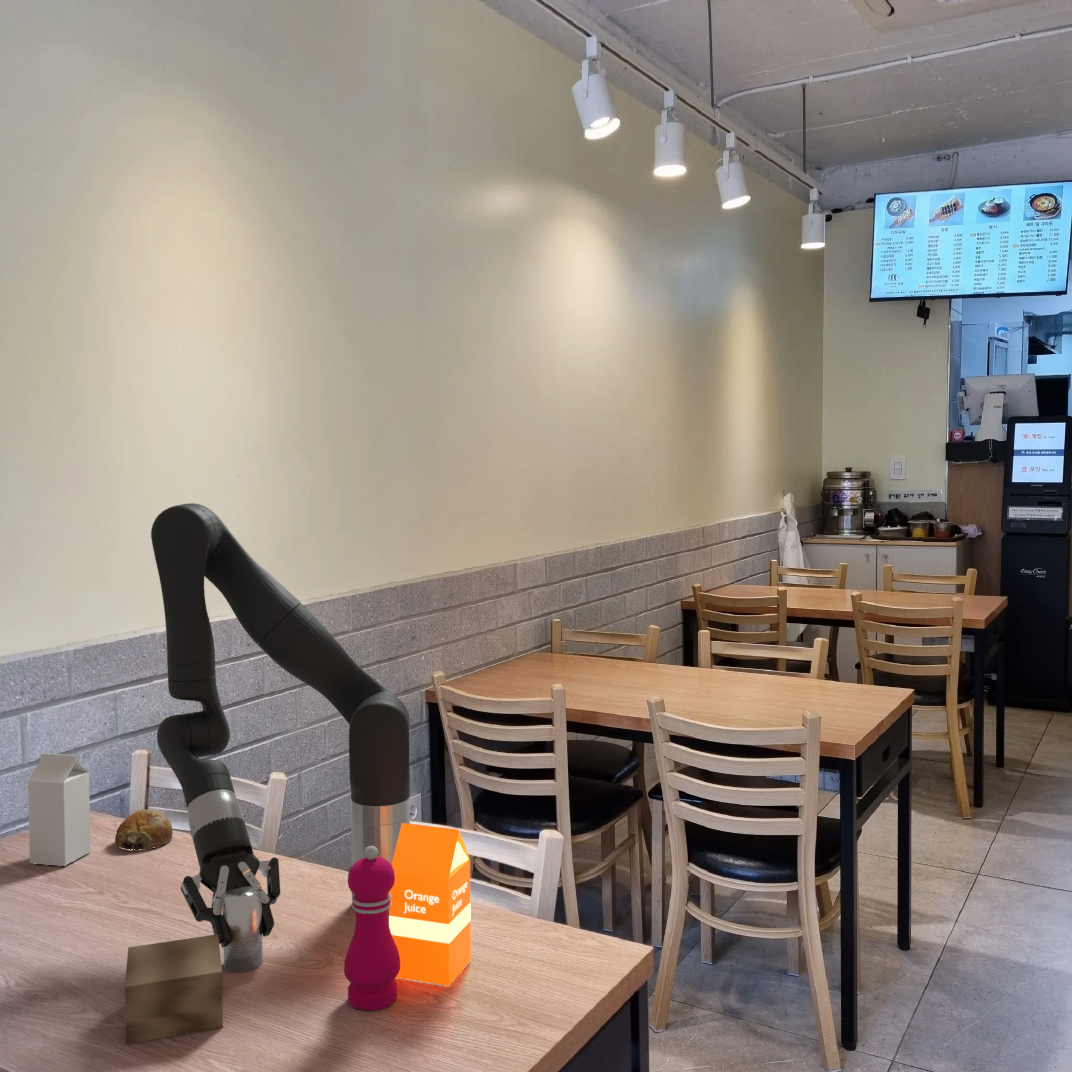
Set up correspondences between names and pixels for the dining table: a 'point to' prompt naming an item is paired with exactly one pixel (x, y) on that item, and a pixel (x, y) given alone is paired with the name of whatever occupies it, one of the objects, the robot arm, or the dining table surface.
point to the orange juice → (431, 903)
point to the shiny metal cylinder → (243, 928)
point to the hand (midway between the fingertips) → (247, 938)
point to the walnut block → (173, 988)
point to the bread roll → (144, 830)
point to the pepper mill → (371, 935)
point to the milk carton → (58, 810)
